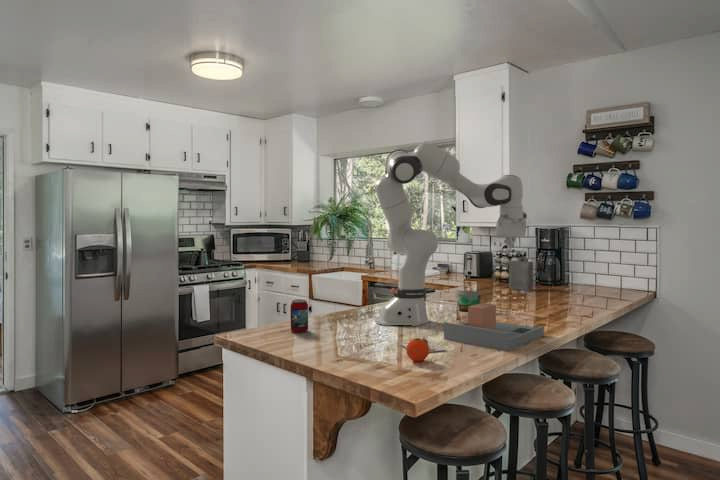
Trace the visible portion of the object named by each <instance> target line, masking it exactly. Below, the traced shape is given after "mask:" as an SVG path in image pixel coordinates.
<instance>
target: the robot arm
mask: <svg viewBox="0 0 720 480" xmlns="http://www.w3.org/2000/svg"><path fill="white" fill-rule="evenodd" d="M384 169H385V170H384V174H385V175H384V176H382V177H380V178H379V179H378V180H377V182H375V192H376V196H377V199H378V201H379V205H380V206H381V210H382V211H383V213H384V216H385V218H386V220H387V224H388V229H389V233H388V235H387V237H386V244H387V248H388V250H390V251H391V252H393V253H395V254H398V255H404V256H406V258H405V262H404V263H403V265H401V266H400V267H399V269H398V287H397V288H395V287H392V288H391V293H393V297H391V299H389V300H388V301H387V302H386V303H385V302H384V304H383V305H382V306H381V309H380V314H379V316H377V317H375V318H374V322H375V321H376V322H377V323H379V324H383V325H382V326H391V325H412V326H411V327H418V326H420V325H423V324H427V323H428V322H429V318H428V313H427V308H426V307H427V306H426V301H427V288H426V286H425V285H426V269H427V264H428V262H429V260H430V257H431V256H433V254H435V252H436V251H437V249H438V246H439V240H438V237H437V235H436V234H435V233H434V231H429V230H427V229H418V228H417V229H414V228H413V227H412V225H411V220H412V218H413V216H414V212H413V211H414V210H413V208H412V206H411V204H410V202H409V199H408V197H407V195H406V192H405V190H404V184H409V183H411V182H412V181H413V180H414V179H416V177H417V176H418V175H420V174H421V173H422V172H424V173H425V174H428V175H429V176H431V177H433V178H435V179H436V180H438V181H441V182H443V183H445V184H447V185H449V186H450V187H452V188H453V189H455V190H456V191H458V192H459V193H461V194H463V195H464V196H465V197H466V198H467V199H468V200H469V202H470V203H471V205H473V206H474V207H475V208H477V209H478V208H479V209H484V208H492V207H493V208H494V207H499V217H498V219H497V221H496V225H495V226H496V227H495V236H496V238H501V239H503V238H505V242H506V248H507V249H514V248H515V243H516V240H517V238H519V237H520V238H521V237H525V235H526V232H527V231H526V230H527V219H528V215H527V213H526V212H524V210H523V204H522V202H523V201H522V200H523V196H524V195H523V183H522V179H521V178H520V177H519V176H517V175H513V174H503V175H502V176H501V177H499V178H498V179H496V180H494V181H491V182H489V183H483V184H481V183H475V182H473V181H471V179H469V178H467V177H466V176H464V175H463V174H461V172H460V169H461V165H460V162H459V160H458V159H457V158H456V157H455V156H454V155H453V154H451V153H449V152H448V151H446V150H444V149H442V148H440V147H438V146H436V145H434V144H431V143H427V142H422V143H420V144H418V145H417V146H416V148H414V150H413V151H412V152H410V153H409V152H407V151H406V150H404V149H396V150H392V151H391V152H390V153H389V155H388V156H387V159H386V161H385V168H384ZM376 322H375V323H376ZM377 323H376V324H377ZM379 324H378V325H379Z"/></svg>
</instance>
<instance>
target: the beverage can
mask: <svg viewBox="0 0 720 480" xmlns="http://www.w3.org/2000/svg"><path fill="white" fill-rule="evenodd" d="M308 330H309V304H308V301H307V299H300V298H299V299H293V300H292V301H291V303H290V331H291V332H293V333H295V334H299V333H300V334H301V333H305V332H307V331H308Z"/></svg>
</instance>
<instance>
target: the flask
mask: <svg viewBox="0 0 720 480" xmlns="http://www.w3.org/2000/svg"><path fill="white" fill-rule="evenodd" d="M525 260H526V259H525V257H524V256H519V257H518V260H509V262H508V263H509V267H508V269H509V271H508V274H509V275H508V277H509V279H508V290H510V291H521V292H529V293H532V292H533V288H534V287H533V286H534V283H533V281H534V277H533V276H534V262H533V261H527V260H526V261H525Z"/></svg>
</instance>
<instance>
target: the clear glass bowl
mask: <svg viewBox="0 0 720 480" xmlns="http://www.w3.org/2000/svg"><path fill="white" fill-rule="evenodd" d="M421 339H422V340H424V341H425V342H426V343H427V344H428V343H430V344H428V347H429V348H430V346H429V345H431V344H432V345H431V346H433V345H434V346H436V347H437V348H436V347H435V348H436V349H438V348H439V349H438V350H429V353H437V352H438V351H440V352H445V351H447V349H446V348H445V347H443V346H441V345H439V344H438V343H435V342H434V341H432V340H429V341H428V340H427V337H426V336H425V335H423V336H422V337H421ZM408 343H409V342H402V343H400V345H401V346H402V347H403V348H405V349H406V348H407V346H404V345H402V344H408ZM434 346H433V347H434Z"/></svg>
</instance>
